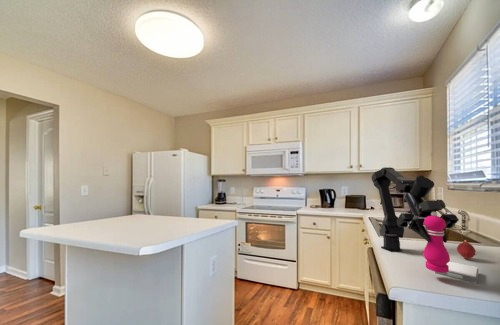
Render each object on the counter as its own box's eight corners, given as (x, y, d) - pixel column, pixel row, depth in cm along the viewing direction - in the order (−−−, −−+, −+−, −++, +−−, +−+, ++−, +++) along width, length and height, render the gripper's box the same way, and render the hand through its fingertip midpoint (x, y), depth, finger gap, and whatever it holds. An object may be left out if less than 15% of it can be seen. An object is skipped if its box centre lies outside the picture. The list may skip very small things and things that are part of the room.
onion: (479, 262, 96) (478, 242, 96) (463, 261, 97) (462, 241, 98) (469, 257, 102) (468, 238, 102) (454, 256, 103) (453, 238, 103)
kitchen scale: (435, 273, 85) (434, 267, 85) (439, 265, 93) (439, 259, 93) (476, 283, 77) (476, 276, 77) (478, 273, 85) (478, 267, 85)
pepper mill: (444, 275, 76) (441, 214, 76) (419, 267, 82) (416, 211, 83) (454, 270, 79) (451, 211, 80) (430, 263, 86) (427, 208, 86)
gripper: (399, 191, 87) (418, 228, 75) (454, 192, 85) (481, 230, 73) (389, 209, 94) (405, 245, 83) (439, 210, 92) (462, 247, 81)
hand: (437, 241), depth 80 cm, fingers closed on pepper mill, 5 cm apart
